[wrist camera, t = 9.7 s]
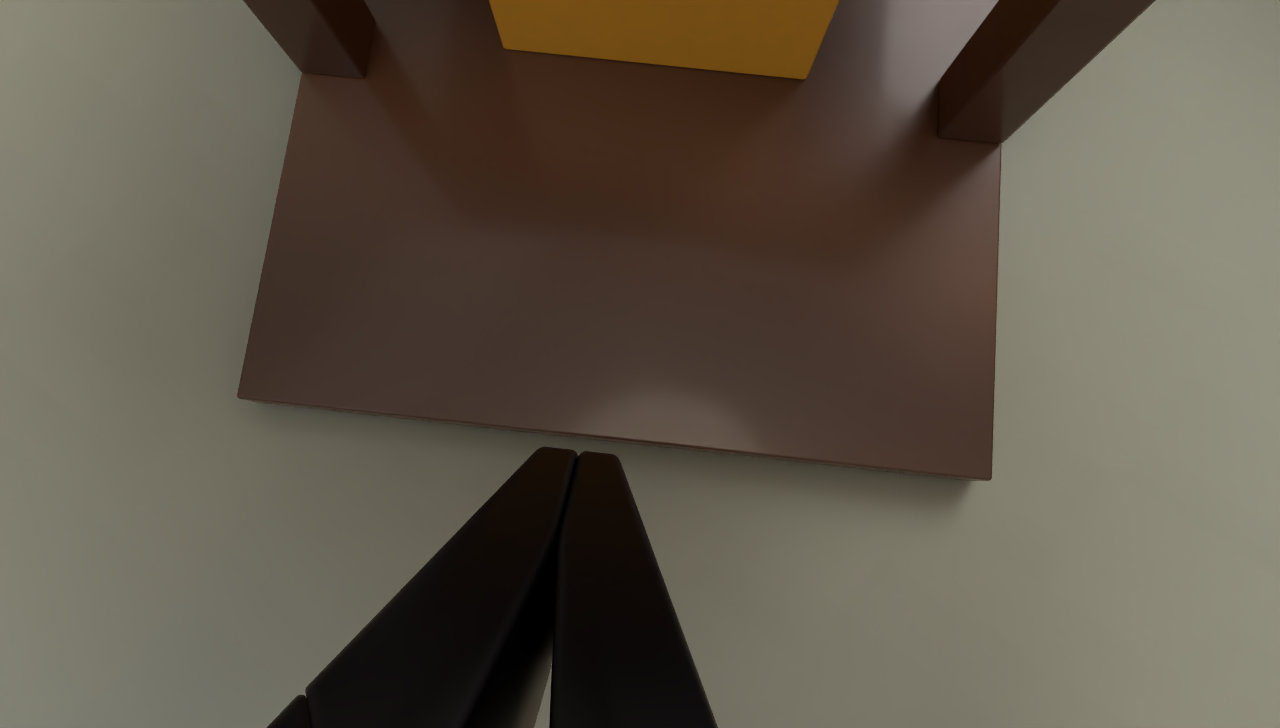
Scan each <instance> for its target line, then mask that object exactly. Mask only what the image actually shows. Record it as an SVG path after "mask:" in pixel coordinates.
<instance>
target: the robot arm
mask: <svg viewBox="0 0 1280 728" xmlns="http://www.w3.org/2000/svg"><path fill="white" fill-rule="evenodd" d="M551 664H552V677H551V701H550V726H549V728H718V727H717V724H716V721H715V718H714V716H713V713H712V710H711V708H710V705H709V702H708V699H707V697H706V694H705V691H704V688H703V686H702V683H701V680H700V678H699V675H698V672H697V669H696V667H695V664H694V661H693V659H692V656H691V653H690V650H689V648H688V645H687V642H686V639H685V637H684V634H683V631H682V629H681V626H680V623H679V620H678V618H677V615H676V612H675V609H674V607H673V604H672V601H671V599H670V596H669V593H668V590H667V588H666V585H665V582H664V579H663V577H662V574H661V571H660V569H659V566H658V563H657V560H656V558H655V555H654V552H653V550H652V547H651V544H650V541H649V539H648V536H647V533H646V530H645V528H644V525H643V522H642V520H641V517H640V514H639V511H638V509H637V506H636V503H635V500H634V498H633V495H632V492H631V490H630V487H629V484H628V481H627V479H626V476H625V473H624V470H623V468H622V465H621V462H620V460H619V459H618V457H617V456H616V455H613V454H606V453H597V452H588V451H584V452H582V453H581V454H580V455H579V456H578V455H577V453H576V452H575V451H574V450H570V449H561V448H552V447H541V448H539V449H538V450H536V451H535V452H534V453H533V454H532V455H531V457H530V458H529V459H528V460H527V461H526V462H525V463H524V464H523V465H522V466H521V467H520V468H519V469H518V470H517V471H516V472H515V473H514V474H513V475H512V476H511V477H510V478H509V479H508V480H507V481H506V482H505V483H504V484H503V485H502V486H501V487H500V488H499V489H498V490H497V492H496V493H495V494H494V495H493V496H492V497H491V498H490V499H489V500H488V501H487V502H486V503H485V504H484V505H483V506H482V507H481V508H480V509H479V510H478V511H477V512H476V513H475V514H474V515H473V516H472V517H471V518H470V519H469V520H468V521H467V522H466V523H465V524H464V525H463V526H462V528H461V529H460V530H459V531H458V532H457V533H456V534H455V535H454V536H453V537H452V538H451V539H450V540H449V541H448V542H447V543H446V544H445V545H444V546H443V547H442V548H441V549H440V550H439V551H438V552H437V553H436V554H435V555H434V556H433V557H432V558H431V559H430V560H429V561H428V562H427V564H426V565H425V566H424V567H423V568H422V569H421V570H420V571H419V572H418V573H417V574H416V575H415V576H414V577H413V578H412V579H411V580H410V581H409V582H408V583H407V584H406V585H405V586H404V587H403V588H402V589H401V590H400V591H399V592H398V593H397V594H396V595H395V596H394V597H393V599H392V600H391V601H390V602H389V603H388V604H387V605H386V606H385V607H384V608H383V609H382V610H381V611H380V612H379V613H378V614H377V615H376V616H375V617H374V618H373V619H372V620H371V621H370V622H369V623H368V624H367V625H366V626H365V627H364V628H363V629H362V630H361V631H360V632H359V633H358V635H357V636H356V637H355V638H354V639H353V640H352V641H351V642H350V643H349V644H348V645H347V646H346V647H345V648H344V649H343V650H342V651H341V652H340V653H339V654H338V655H337V656H336V657H335V658H334V659H333V660H332V661H331V662H330V663H329V664H328V665H327V666H326V667H325V668H324V669H323V671H322V672H321V673H320V674H319V675H318V676H317V677H316V678H315V679H314V680H313V681H312V682H311V683H310V684H309V685H308V686H307V687H306V690H305V691H306V696H304V695H298V696H297V697H296V698H295V699H294V700H293V701H292V702H291V703H290V704H289V705H288V706H287V707H286V708H285V709H284V710H283V711H282V712H281V713H280V714H279V715H278V716H277V717H276V718H275V719H274V720H273V722H272V723H271V724H270V725H269V726H268V727H267V728H534V726H535V722H536V719H537V715H538V712H539V708H540V704H541V701H542V697H543V694H544V690H545V687H546V683H547V680H548V676H549V672H550V668H551Z"/></svg>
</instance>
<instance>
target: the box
mask: <svg viewBox="0 0 1280 728" xmlns="http://www.w3.org/2000/svg"><path fill="white" fill-rule="evenodd" d="M489 2H490V6H491V9H492V12H493V15H494V19H495V22H496V25H497V28H498V32H499V35H500V38H501V42H502V45H503V48H505V49H510V50H520V51H530V52H540V53H549V54H559V55H569V56H579V57H589V58H598V59H608V60H618V61H628V62H637V63H647V64H657V65H667V66H676V67H686V68H696V69H706V70H716V71H725V72H735V73H745V74H755V75H764V76H774V77H784V78H794V79H803V80H804V79H806V78H807V77H808V74H809V72H810V70H811V67H812V65H813V62H814V60H815V58H816V55H817V53H818V50H819V48H820V46H821V43H822V41H823V38H824V36H825V34H826V31H827V29H828V27H829V24H830V22H831V19H832V17H833V15H834V12H835V10H836V7H837V5H838V3H839V0H489Z"/></svg>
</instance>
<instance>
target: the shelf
mask: <svg viewBox="0 0 1280 728" xmlns="http://www.w3.org/2000/svg"><path fill="white" fill-rule="evenodd" d="M243 1H244V2H245V3H246V5H247V6H248V7H249V8H250V10H251V11H252V12H253V13H254V14H255V16H256V17H257V18H258V19H259V21H260V22H261V23H262V24H263V26H264V27H265V28H266V29H267V30H268V32H269V33H270V34H271V35H272V37H273V38H274V39H275V40H276V42H277V43H278V44H279V45H280V46H281V48H282V49H283V50H284V51H285V53H286V54H287V55H288V56H289V58H290V59H291V60H292V61H293V62H294V64H295V65H296V66H297V67H298V69H299V70H300V71H301V72H302V75H301V80H300V85H299V90H298V95H297V100H296V105H295V110H294V115H293V120H292V125H291V130H290V135H289V140H288V145H287V150H286V155H285V160H284V165H283V170H282V175H281V180H280V185H279V190H278V195H277V200H276V205H275V210H274V215H273V220H272V225H271V230H270V235H269V240H268V245H267V250H266V255H265V260H264V265H263V270H262V275H261V280H260V285H259V290H258V295H257V299H256V304H255V309H254V314H253V319H252V324H251V329H250V334H249V339H248V344H247V349H246V354H245V359H244V364H243V369H242V374H241V379H240V384H239V389H238V394H237V397H238V398H240V399H244V400H248V401H253V402H259V403H268V404H277V405H286V406H295V407H305V408H314V409H323V410H332V411H341V412H350V413H359V414H368V415H378V416H387V417H396V418H405V419H414V420H423V421H432V422H442V423H451V424H460V425H469V426H478V427H487V428H496V429H506V430H515V431H524V432H533V433H542V434H551V435H560V436H570V437H579V438H588V439H597V440H606V441H615V442H624V443H634V444H643V445H652V446H661V447H670V448H679V449H688V450H697V451H707V452H716V453H725V454H734V455H743V456H752V457H761V458H771V459H780V460H789V461H798V462H807V463H816V464H825V465H835V466H844V467H853V468H862V469H871V470H880V471H889V472H899V473H908V474H917V475H926V476H935V477H944V478H953V479H963V480H972V481H989V480H991V478H992V451H993V416H994V382H995V348H996V313H997V279H998V244H999V210H1000V175H1001V143H1003V142H1004V141H1005V140H1007V139H1008V138H1009V137H1010V136H1011V135H1012V134H1013V133H1014V132H1015V131H1016V130H1017V129H1018V128H1019V127H1020V126H1022V125H1023V124H1024V123H1025V122H1026V121H1027V120H1028V119H1029V118H1030V117H1031V116H1032V115H1033V114H1034V113H1035V112H1037V111H1038V110H1039V109H1040V108H1041V107H1042V106H1043V105H1044V104H1045V103H1046V102H1047V101H1048V100H1049V99H1050V98H1052V97H1053V96H1054V95H1055V94H1056V93H1057V92H1058V91H1059V90H1060V89H1061V88H1062V87H1063V86H1064V85H1065V84H1067V83H1068V82H1069V81H1070V80H1071V79H1072V78H1073V77H1074V76H1075V75H1076V74H1077V73H1078V72H1079V71H1080V70H1082V69H1083V68H1084V67H1085V66H1086V65H1087V64H1088V63H1089V62H1090V61H1091V60H1092V59H1093V58H1094V57H1095V56H1097V55H1098V54H1099V53H1100V52H1101V51H1102V50H1103V49H1104V48H1105V47H1106V46H1107V45H1108V44H1109V43H1110V42H1112V41H1113V40H1114V39H1115V38H1116V37H1117V36H1118V35H1119V34H1120V33H1121V32H1122V31H1123V30H1124V29H1125V28H1127V27H1128V26H1129V25H1130V24H1131V23H1132V22H1133V21H1134V20H1135V19H1136V18H1137V17H1138V16H1139V15H1140V14H1142V13H1143V12H1144V11H1145V10H1146V9H1147V8H1148V7H1149V6H1150V5H1151V4H1152V3H1153V2H1154V1H1155V0H839V3H838V5H837V7H836V10H835V12H834V15H833V17H832V19H831V22H830V24H829V27H828V29H827V31H826V34H825V36H824V38H823V41H822V43H821V46H820V48H819V50H818V53H817V55H816V58H815V60H814V62H813V65H812V67H811V70H810V72H809V74H808V77H807V78H806V79H804V80H803V79H794V78H784V77H774V76H764V75H755V74H745V73H735V72H725V71H716V70H706V69H696V68H686V67H676V66H667V65H657V64H647V63H637V62H628V61H618V60H608V59H598V58H589V57H579V56H569V55H559V54H549V53H540V52H530V51H520V50H510V49H505V48H503V45H502V42H501V38H500V35H499V32H498V28H497V25H496V22H495V19H494V15H493V12H492V9H491V6H490V2H489V0H243Z"/></svg>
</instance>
